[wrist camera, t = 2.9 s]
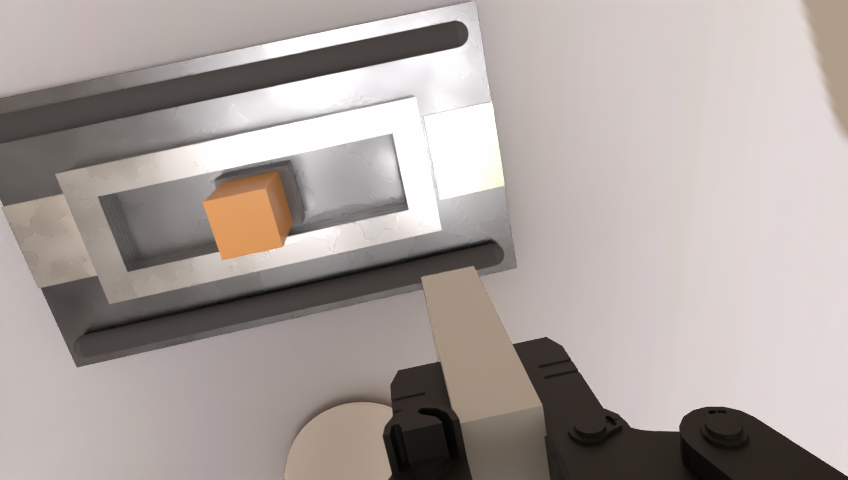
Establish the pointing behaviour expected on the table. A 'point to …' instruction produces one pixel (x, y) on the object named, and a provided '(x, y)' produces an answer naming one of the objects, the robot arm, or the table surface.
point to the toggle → (254, 209)
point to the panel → (247, 148)
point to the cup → (342, 445)
